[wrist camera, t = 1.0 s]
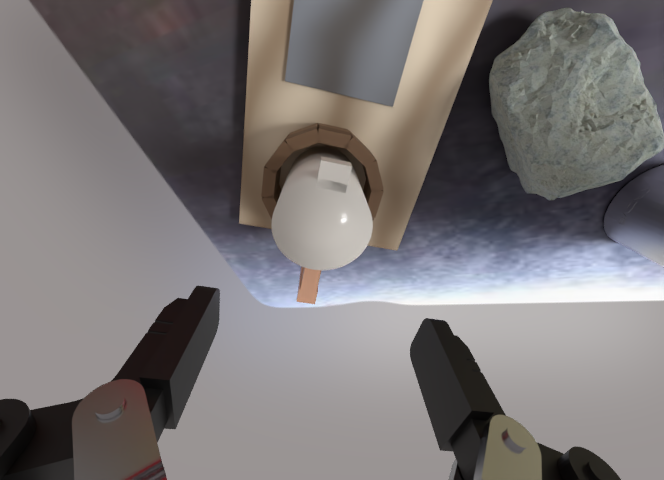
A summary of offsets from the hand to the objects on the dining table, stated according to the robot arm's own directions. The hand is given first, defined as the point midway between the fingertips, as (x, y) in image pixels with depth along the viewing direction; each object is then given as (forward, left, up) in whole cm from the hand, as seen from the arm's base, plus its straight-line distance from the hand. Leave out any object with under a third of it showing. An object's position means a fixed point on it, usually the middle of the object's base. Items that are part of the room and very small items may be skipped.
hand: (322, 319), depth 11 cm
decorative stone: (-17, -10, -19) cm, 28 cm away
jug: (0, +1, -18) cm, 18 cm away
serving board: (-1, -6, -19) cm, 20 cm away
